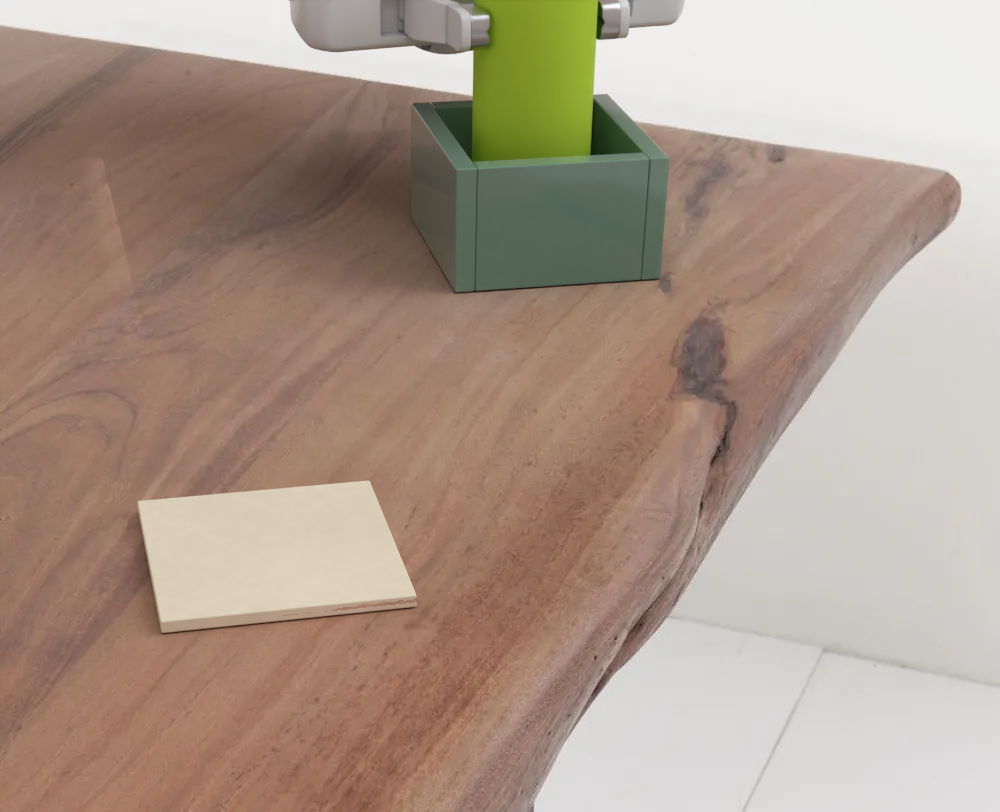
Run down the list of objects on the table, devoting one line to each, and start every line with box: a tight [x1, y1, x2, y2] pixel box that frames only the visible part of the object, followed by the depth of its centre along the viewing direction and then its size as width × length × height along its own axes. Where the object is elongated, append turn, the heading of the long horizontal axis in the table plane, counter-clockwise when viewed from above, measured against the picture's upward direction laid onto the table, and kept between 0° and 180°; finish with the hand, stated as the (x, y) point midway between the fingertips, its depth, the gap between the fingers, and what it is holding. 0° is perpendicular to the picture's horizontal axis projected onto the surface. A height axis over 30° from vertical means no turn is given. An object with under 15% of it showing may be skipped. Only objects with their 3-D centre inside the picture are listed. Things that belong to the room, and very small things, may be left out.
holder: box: [410, 93, 670, 293], centre depth 94 cm, size 10×10×6 cm
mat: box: [136, 480, 418, 634], centre depth 69 cm, size 9×9×1 cm
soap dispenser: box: [472, 0, 598, 162], centre depth 90 cm, size 6×7×20 cm
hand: (547, 27), depth 89 cm, fingers closed on soap dispenser, 6 cm apart
